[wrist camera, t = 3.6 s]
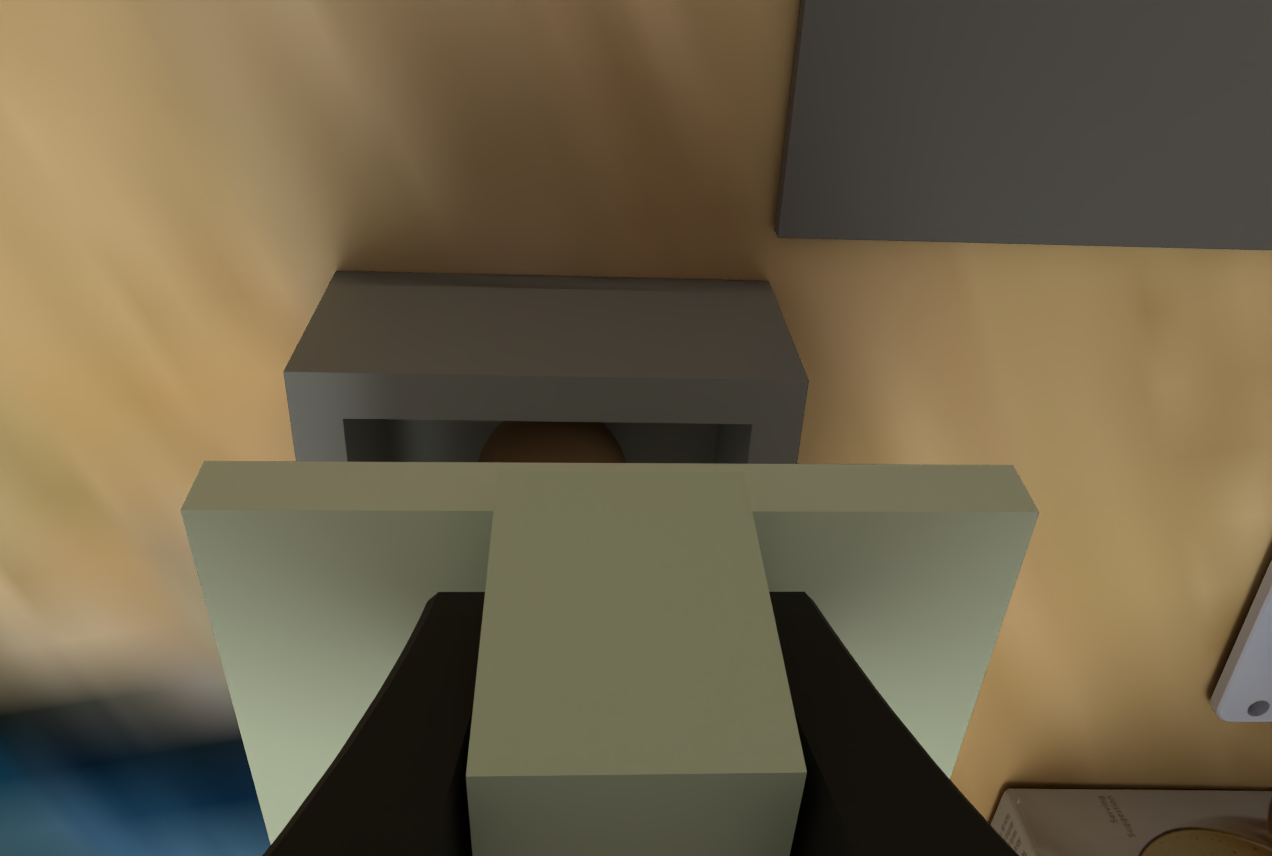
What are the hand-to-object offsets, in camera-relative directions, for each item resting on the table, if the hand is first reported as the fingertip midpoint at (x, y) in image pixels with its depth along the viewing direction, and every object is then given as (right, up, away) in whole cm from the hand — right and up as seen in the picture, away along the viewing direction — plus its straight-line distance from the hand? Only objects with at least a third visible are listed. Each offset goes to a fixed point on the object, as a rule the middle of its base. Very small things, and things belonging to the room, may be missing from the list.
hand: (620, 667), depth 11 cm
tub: (-2, +1, +11) cm, 12 cm away
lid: (0, -2, +4) cm, 4 cm away
